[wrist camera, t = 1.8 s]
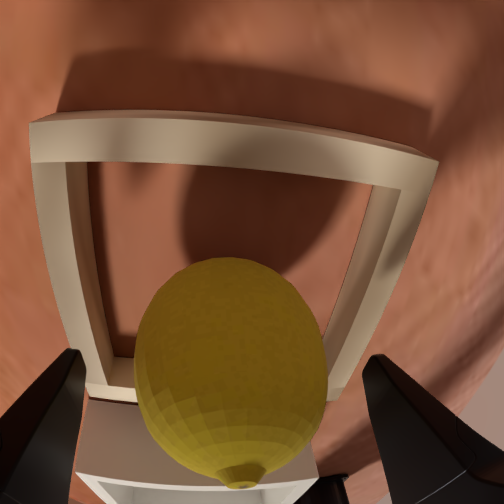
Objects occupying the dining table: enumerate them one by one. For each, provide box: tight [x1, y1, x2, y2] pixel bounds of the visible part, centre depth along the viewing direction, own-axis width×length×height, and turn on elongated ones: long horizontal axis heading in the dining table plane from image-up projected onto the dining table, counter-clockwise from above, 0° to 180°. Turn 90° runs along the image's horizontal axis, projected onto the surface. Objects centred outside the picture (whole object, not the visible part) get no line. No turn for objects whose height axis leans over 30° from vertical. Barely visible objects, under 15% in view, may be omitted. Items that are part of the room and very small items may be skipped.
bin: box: [75, 399, 319, 504], centre depth 18 cm, size 13×13×5 cm
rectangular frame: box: [29, 110, 439, 402], centre depth 12 cm, size 12×12×2 cm
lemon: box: [134, 257, 328, 489], centre depth 9 cm, size 6×6×8 cm
